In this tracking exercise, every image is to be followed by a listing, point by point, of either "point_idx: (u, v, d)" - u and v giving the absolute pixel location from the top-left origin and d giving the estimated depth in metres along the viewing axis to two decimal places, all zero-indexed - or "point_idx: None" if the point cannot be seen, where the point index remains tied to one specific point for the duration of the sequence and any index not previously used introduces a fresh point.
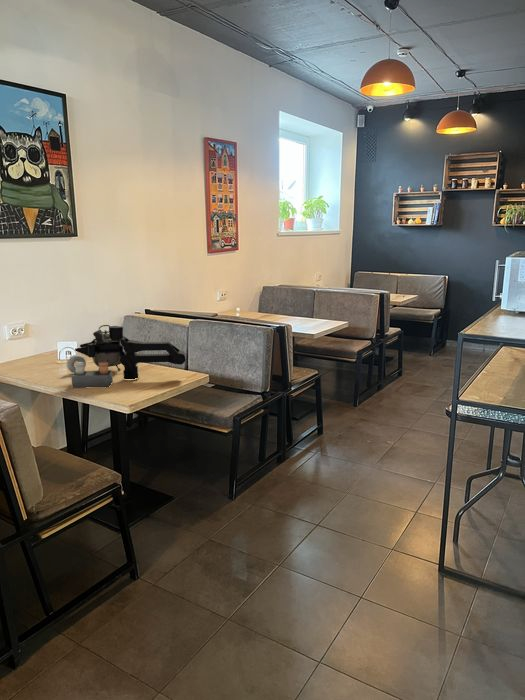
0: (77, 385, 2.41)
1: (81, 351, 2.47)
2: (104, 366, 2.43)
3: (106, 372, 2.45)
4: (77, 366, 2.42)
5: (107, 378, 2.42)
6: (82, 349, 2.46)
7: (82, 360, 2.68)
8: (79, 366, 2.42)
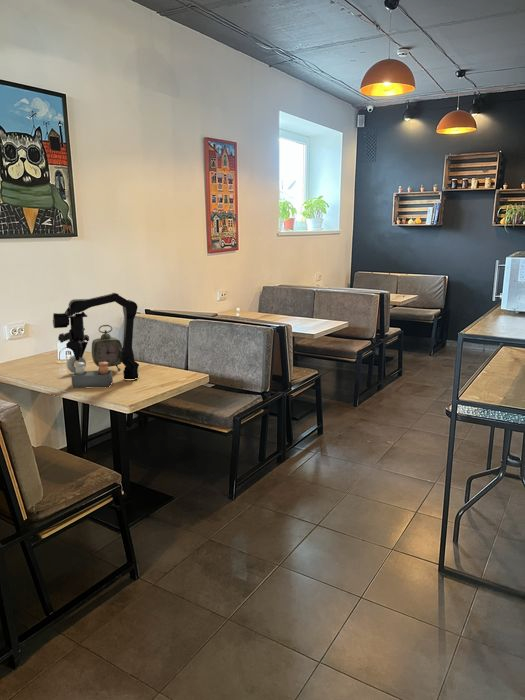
0: (77, 385, 2.41)
1: (78, 354, 2.39)
2: (104, 366, 2.43)
3: (106, 372, 2.45)
4: (77, 366, 2.42)
5: (107, 378, 2.42)
6: (75, 353, 2.38)
7: (82, 360, 2.68)
8: (79, 366, 2.42)
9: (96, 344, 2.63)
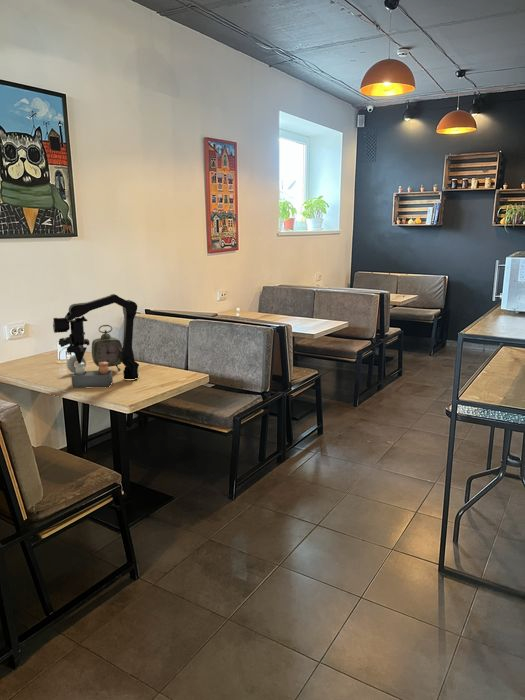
0: (77, 385, 2.41)
1: (80, 357, 2.42)
2: (104, 366, 2.43)
3: (106, 372, 2.45)
4: (77, 366, 2.42)
5: (107, 378, 2.42)
6: (77, 356, 2.42)
7: (82, 360, 2.68)
8: (79, 366, 2.42)
9: (96, 344, 2.63)
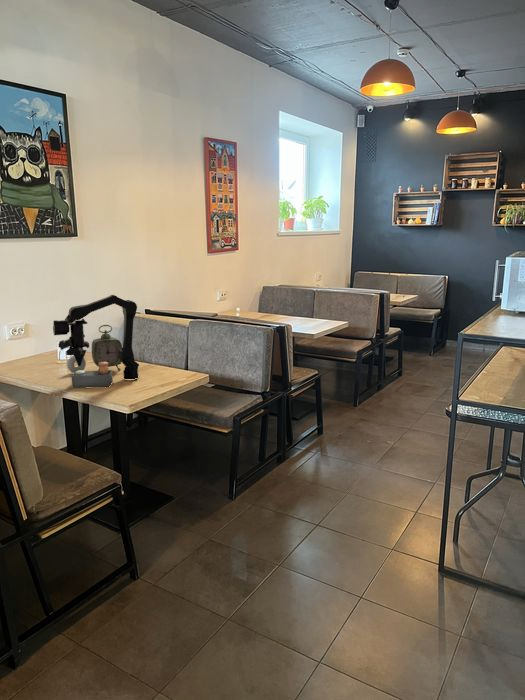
0: (77, 385, 2.41)
1: (80, 360, 2.42)
2: (104, 366, 2.43)
3: (106, 372, 2.45)
4: (78, 374, 2.43)
5: (107, 378, 2.42)
6: (77, 358, 2.42)
7: None
8: (80, 374, 2.43)
9: (96, 344, 2.63)
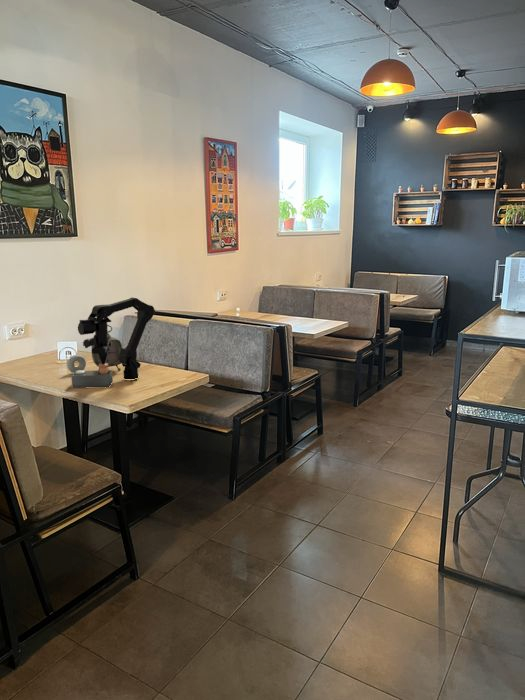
0: (77, 385, 2.41)
1: (104, 358, 2.43)
2: (104, 367, 2.44)
3: (106, 373, 2.45)
4: (78, 374, 2.43)
5: (107, 378, 2.42)
6: (101, 357, 2.43)
7: (82, 360, 2.68)
8: (80, 374, 2.43)
9: None
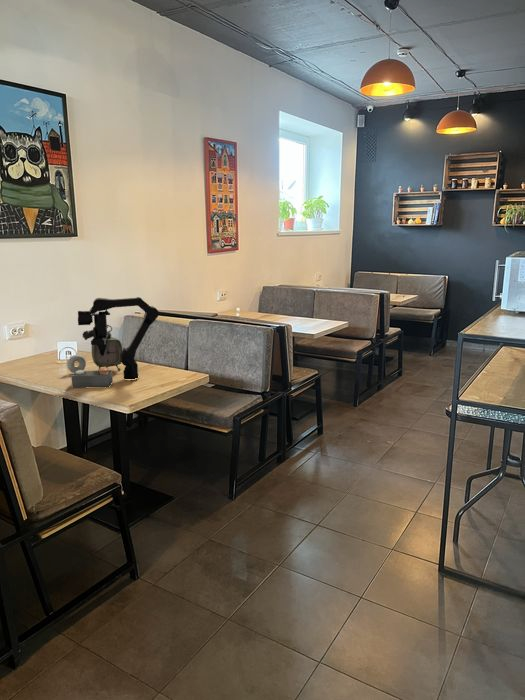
0: (77, 385, 2.41)
1: (103, 350, 2.49)
2: (104, 372, 2.44)
3: None
4: (78, 374, 2.43)
5: (107, 378, 2.42)
6: (100, 349, 2.48)
7: (82, 360, 2.68)
8: (80, 374, 2.43)
9: None
